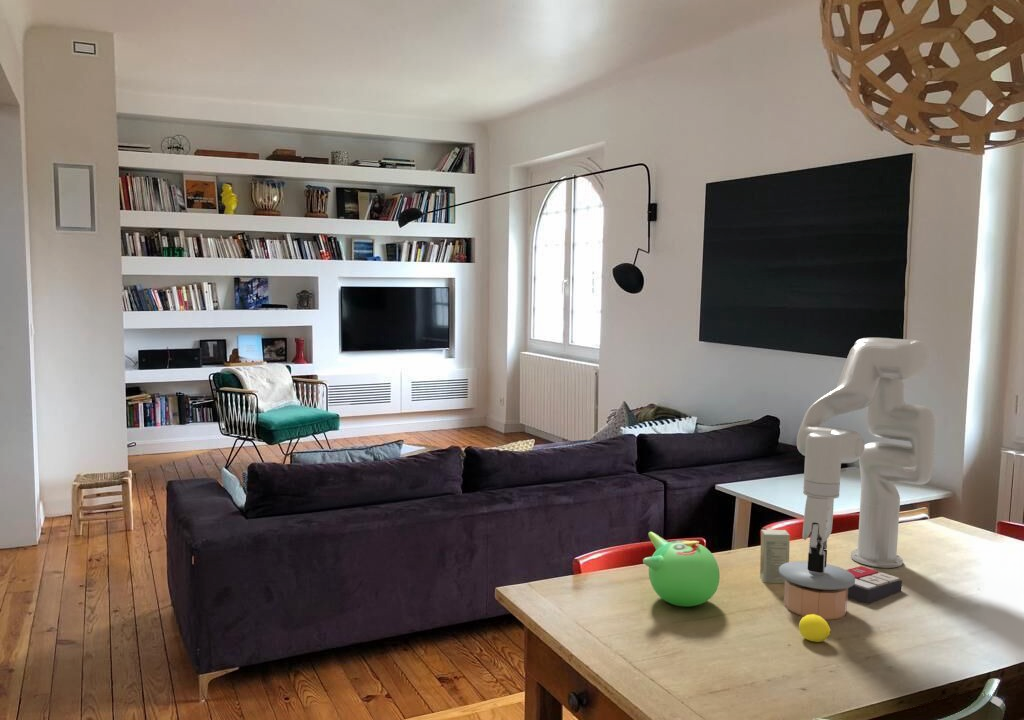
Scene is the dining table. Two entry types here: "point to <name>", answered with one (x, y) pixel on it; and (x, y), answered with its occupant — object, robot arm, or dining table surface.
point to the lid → (817, 576)
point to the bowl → (815, 601)
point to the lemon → (814, 628)
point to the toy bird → (682, 571)
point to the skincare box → (773, 554)
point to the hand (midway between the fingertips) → (816, 567)
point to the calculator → (872, 585)
